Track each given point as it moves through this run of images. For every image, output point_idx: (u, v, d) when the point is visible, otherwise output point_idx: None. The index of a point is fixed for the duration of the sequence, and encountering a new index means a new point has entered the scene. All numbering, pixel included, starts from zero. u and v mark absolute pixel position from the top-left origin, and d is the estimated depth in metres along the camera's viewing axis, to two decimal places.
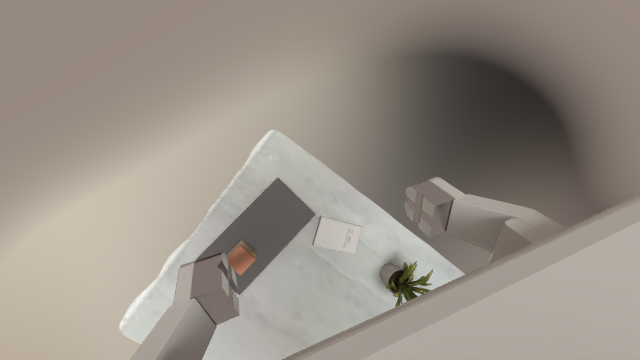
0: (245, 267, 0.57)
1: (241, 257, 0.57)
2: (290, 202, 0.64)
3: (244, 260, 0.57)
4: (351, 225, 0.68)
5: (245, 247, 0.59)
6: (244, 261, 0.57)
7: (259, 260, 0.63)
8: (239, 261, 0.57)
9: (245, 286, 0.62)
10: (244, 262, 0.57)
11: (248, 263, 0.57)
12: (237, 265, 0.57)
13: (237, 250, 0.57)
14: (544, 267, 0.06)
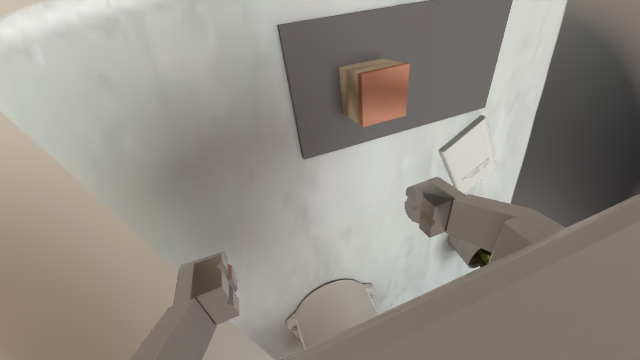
0: (381, 117, 0.25)
1: (392, 91, 0.24)
2: (484, 56, 0.31)
3: (391, 101, 0.24)
4: (493, 156, 0.42)
5: None
6: (388, 104, 0.24)
7: None
8: (383, 96, 0.24)
9: (322, 151, 0.30)
10: (388, 106, 0.24)
11: (391, 113, 0.25)
12: (374, 102, 0.24)
13: (399, 69, 0.23)
14: (544, 267, 0.06)
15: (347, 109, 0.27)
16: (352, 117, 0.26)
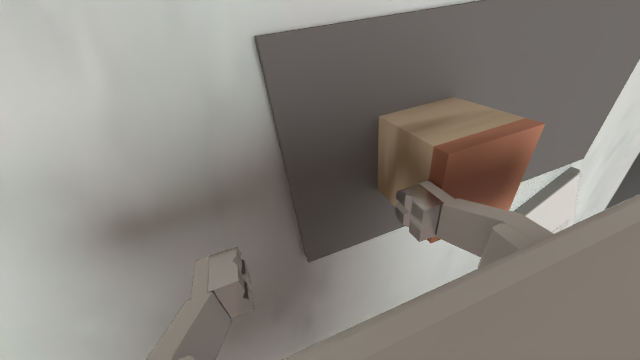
0: None
1: (498, 177, 0.11)
2: (607, 86, 0.19)
3: (491, 195, 0.12)
4: (574, 216, 0.30)
5: None
6: (485, 199, 0.12)
7: None
8: (480, 188, 0.11)
9: (339, 246, 0.18)
10: (483, 202, 0.12)
11: None
12: None
13: (522, 137, 0.10)
14: (544, 267, 0.06)
15: (390, 191, 0.14)
16: None
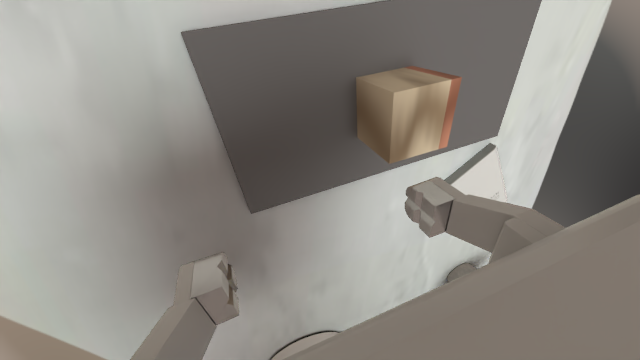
0: None
1: None
2: (500, 72, 0.23)
3: None
4: (504, 189, 0.34)
5: None
6: None
7: (346, 161, 0.22)
8: None
9: (276, 202, 0.22)
10: None
11: None
12: None
13: None
14: (544, 267, 0.06)
15: (408, 148, 0.17)
16: (421, 151, 0.18)
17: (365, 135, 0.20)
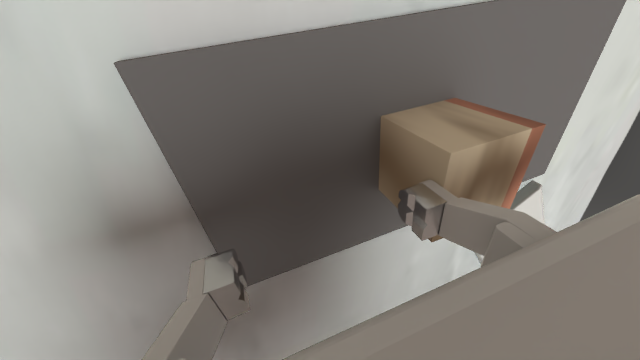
0: None
1: None
2: (559, 101, 0.18)
3: None
4: None
5: None
6: None
7: (363, 218, 0.17)
8: None
9: (271, 273, 0.17)
10: None
11: None
12: None
13: None
14: (544, 267, 0.06)
15: None
16: None
17: (392, 191, 0.14)
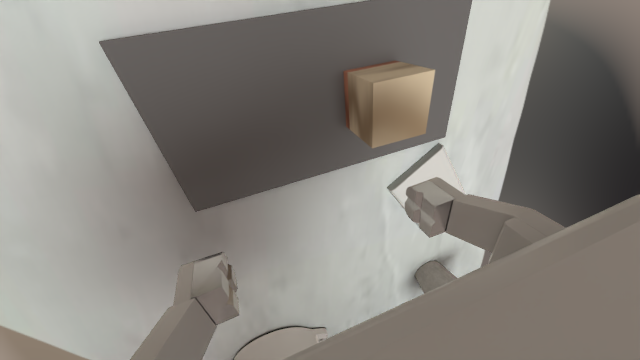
0: None
1: None
2: (438, 76, 0.24)
3: None
4: (460, 187, 0.34)
5: (354, 95, 0.20)
6: None
7: (288, 162, 0.23)
8: None
9: (220, 200, 0.23)
10: None
11: None
12: None
13: None
14: (544, 267, 0.06)
15: None
16: None
17: (389, 134, 0.19)
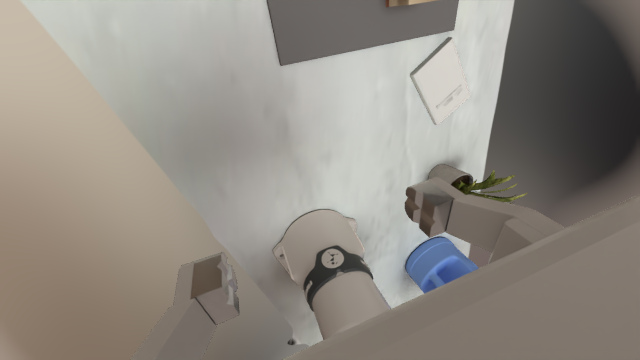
0: None
1: None
2: None
3: None
4: (465, 82, 0.44)
5: None
6: None
7: (345, 32, 0.33)
8: None
9: (298, 59, 0.33)
10: None
11: None
12: None
13: None
14: (544, 267, 0.06)
15: None
16: None
17: None
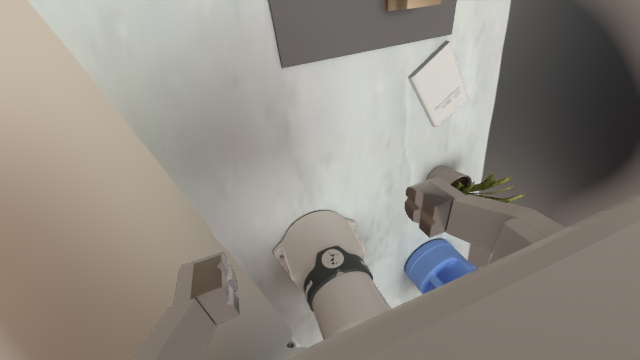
0: None
1: None
2: None
3: None
4: (463, 85, 0.45)
5: None
6: None
7: (345, 35, 0.34)
8: None
9: (299, 61, 0.33)
10: None
11: None
12: None
13: None
14: (544, 267, 0.06)
15: None
16: None
17: None
